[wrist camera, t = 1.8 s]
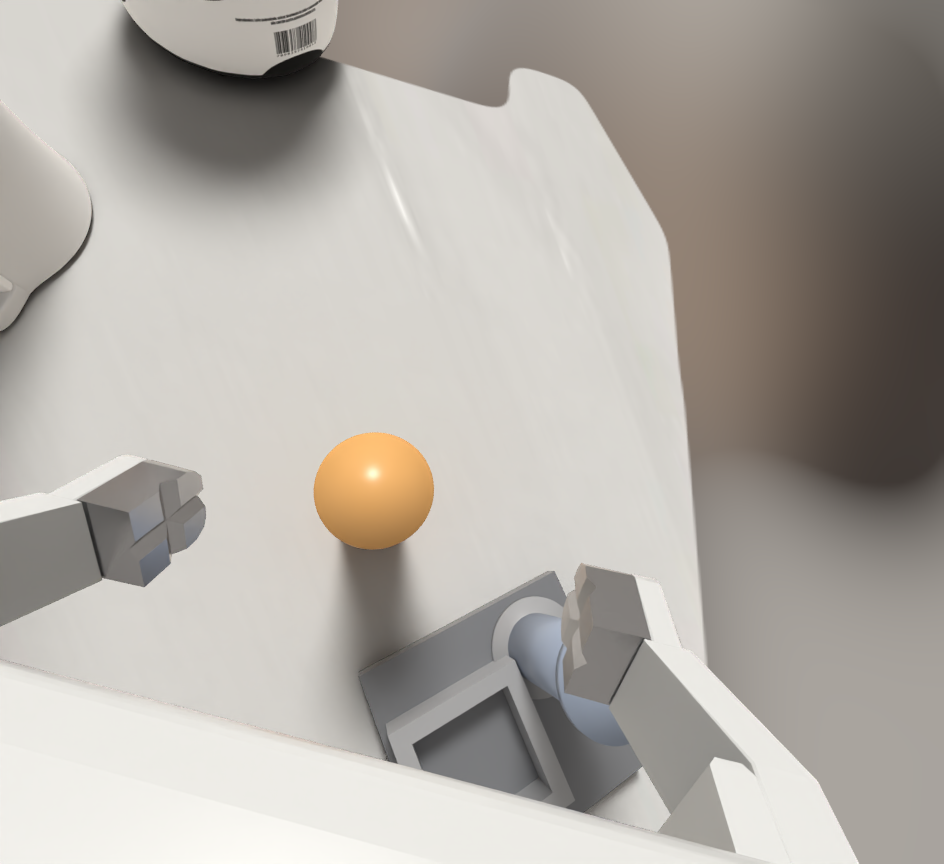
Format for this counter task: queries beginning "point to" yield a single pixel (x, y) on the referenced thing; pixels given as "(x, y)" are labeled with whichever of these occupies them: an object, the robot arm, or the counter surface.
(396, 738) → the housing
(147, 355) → the counter surface
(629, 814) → the counter surface
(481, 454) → the counter surface
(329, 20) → the milk container
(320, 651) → the counter surface
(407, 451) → the pin
